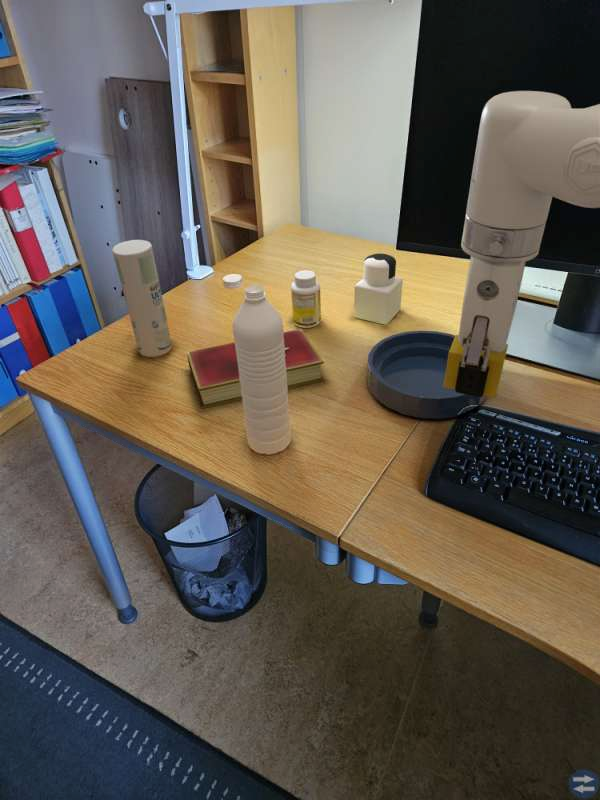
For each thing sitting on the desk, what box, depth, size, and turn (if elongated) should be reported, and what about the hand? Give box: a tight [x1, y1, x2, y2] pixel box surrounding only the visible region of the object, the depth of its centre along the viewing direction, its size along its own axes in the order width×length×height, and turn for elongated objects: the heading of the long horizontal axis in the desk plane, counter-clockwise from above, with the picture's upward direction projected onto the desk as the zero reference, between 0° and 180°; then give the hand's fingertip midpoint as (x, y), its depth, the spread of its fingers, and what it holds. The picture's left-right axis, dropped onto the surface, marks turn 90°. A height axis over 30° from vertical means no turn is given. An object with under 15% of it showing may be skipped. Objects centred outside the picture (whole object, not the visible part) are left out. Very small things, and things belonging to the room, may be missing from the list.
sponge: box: [444, 334, 509, 399], centre depth 65 cm, size 6×4×5 cm, turn 67°
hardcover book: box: [186, 328, 325, 409], centre depth 96 cm, size 12×21×4 cm, turn 108°
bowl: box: [366, 330, 487, 420], centre depth 92 cm, size 20×20×4 cm
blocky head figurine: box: [353, 253, 404, 326], centre depth 109 cm, size 7×7×12 cm
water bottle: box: [222, 273, 292, 455], centre depth 76 cm, size 9×6×25 cm
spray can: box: [111, 239, 173, 358], centre depth 99 cm, size 6×6×20 cm
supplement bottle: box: [290, 269, 322, 329], centre depth 108 cm, size 6×6×10 cm
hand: (472, 380), depth 67 cm, fingers closed on sponge, 4 cm apart
